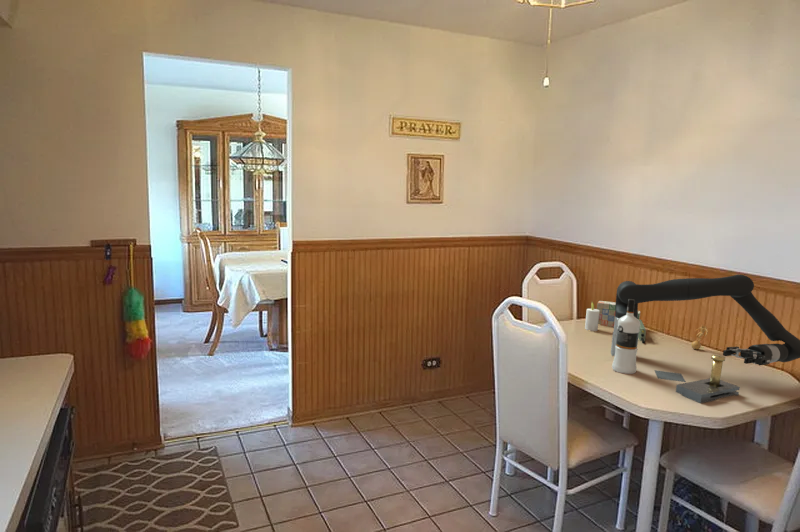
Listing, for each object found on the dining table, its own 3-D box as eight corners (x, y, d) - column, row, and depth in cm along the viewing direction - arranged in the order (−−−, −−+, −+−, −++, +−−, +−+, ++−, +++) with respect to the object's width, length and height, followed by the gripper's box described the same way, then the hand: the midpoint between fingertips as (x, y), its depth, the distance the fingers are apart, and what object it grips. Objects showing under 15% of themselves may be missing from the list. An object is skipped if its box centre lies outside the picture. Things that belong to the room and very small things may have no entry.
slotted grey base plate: (700, 403, 191) (701, 394, 190) (675, 392, 200) (676, 384, 199) (738, 395, 200) (739, 386, 199) (713, 385, 209) (714, 377, 208)
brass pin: (707, 393, 200) (713, 357, 197) (705, 389, 204) (710, 354, 202) (721, 395, 198) (726, 359, 196) (718, 391, 203) (723, 355, 200)
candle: (598, 331, 279) (601, 303, 277) (585, 330, 280) (588, 302, 278) (597, 328, 285) (599, 300, 283) (584, 327, 287) (586, 299, 284)
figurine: (686, 346, 259) (689, 322, 257) (698, 346, 259) (701, 322, 257) (696, 352, 251) (700, 326, 249) (709, 352, 251) (712, 327, 249)
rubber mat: (657, 379, 213) (657, 378, 213) (654, 371, 222) (654, 370, 222) (685, 383, 210) (685, 382, 210) (681, 374, 219) (681, 373, 219)
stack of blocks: (638, 328, 290) (641, 305, 288) (637, 330, 284) (640, 308, 282) (597, 321, 300) (599, 300, 298) (595, 324, 294) (597, 302, 292)
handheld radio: (641, 332, 283) (647, 345, 259) (634, 331, 284) (639, 344, 260) (642, 319, 282) (648, 331, 258) (635, 319, 283) (640, 331, 259)
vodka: (640, 374, 217) (649, 302, 213) (619, 375, 216) (627, 301, 211) (628, 366, 226) (635, 296, 222) (607, 367, 225) (614, 296, 220)
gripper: (747, 339, 217) (718, 341, 210) (783, 350, 204) (754, 353, 197) (744, 357, 218) (715, 360, 212) (780, 369, 205) (750, 373, 199)
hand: (734, 356), depth 205 cm, fingers open, 8 cm apart
